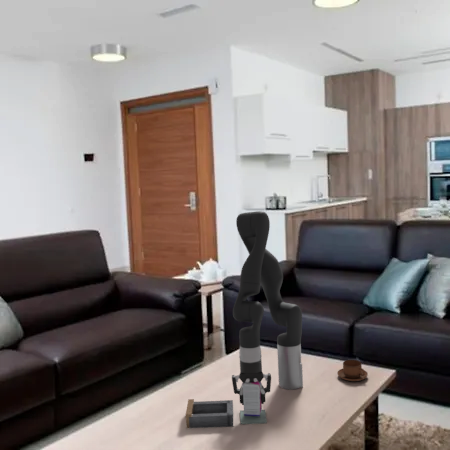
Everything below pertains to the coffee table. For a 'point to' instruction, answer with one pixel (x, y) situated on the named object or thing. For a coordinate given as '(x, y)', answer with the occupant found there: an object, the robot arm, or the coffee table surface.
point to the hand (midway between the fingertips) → (252, 403)
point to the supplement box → (252, 399)
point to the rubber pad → (253, 418)
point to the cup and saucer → (352, 371)
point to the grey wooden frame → (209, 414)
